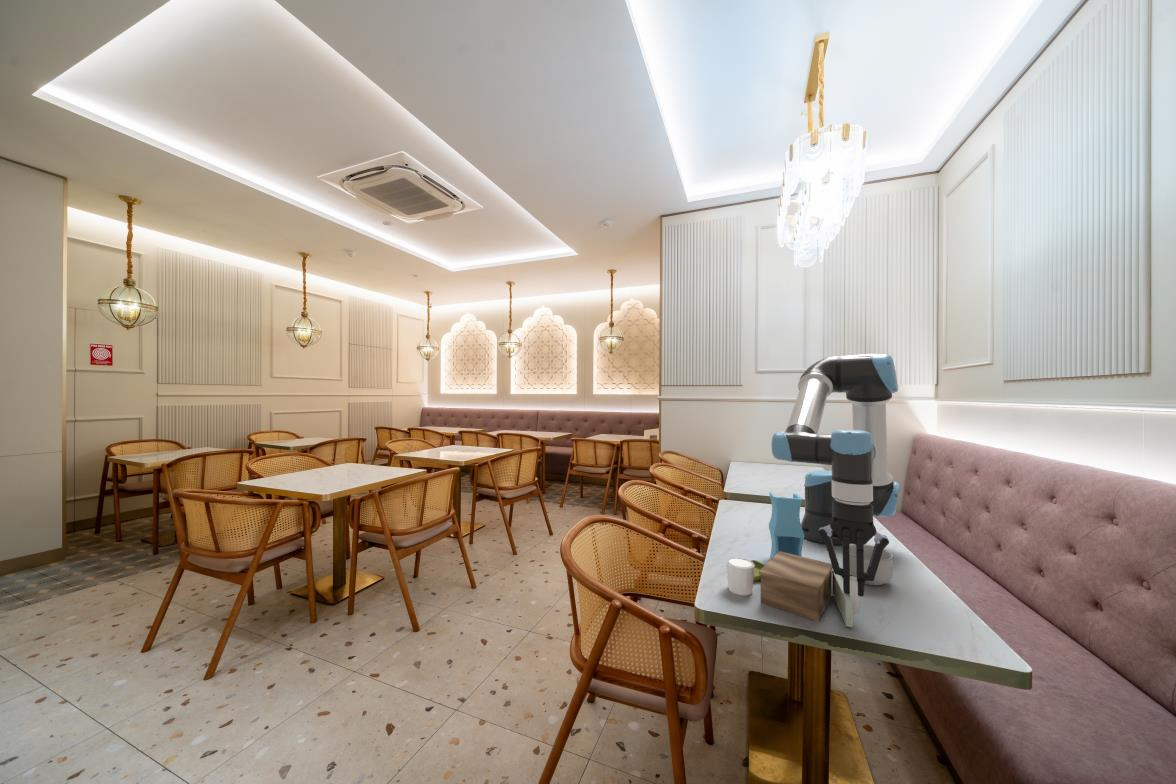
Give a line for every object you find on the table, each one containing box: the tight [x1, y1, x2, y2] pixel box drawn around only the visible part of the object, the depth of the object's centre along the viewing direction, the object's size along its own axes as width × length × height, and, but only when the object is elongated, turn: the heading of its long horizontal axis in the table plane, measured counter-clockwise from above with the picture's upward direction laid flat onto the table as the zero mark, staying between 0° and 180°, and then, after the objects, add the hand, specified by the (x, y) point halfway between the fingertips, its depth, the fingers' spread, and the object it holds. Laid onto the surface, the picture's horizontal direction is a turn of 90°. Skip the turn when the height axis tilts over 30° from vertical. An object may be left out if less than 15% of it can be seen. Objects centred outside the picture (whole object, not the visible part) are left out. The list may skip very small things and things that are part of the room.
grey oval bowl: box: [849, 544, 894, 586], centre depth 108 cm, size 14×11×8 cm
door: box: [832, 570, 854, 628], centre depth 91 cm, size 16×2×6 cm, turn 157°
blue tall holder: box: [768, 491, 805, 560], centre depth 117 cm, size 8×8×20 cm
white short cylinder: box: [725, 557, 755, 597], centre depth 100 cm, size 7×7×7 cm
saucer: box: [750, 559, 766, 582], centre depth 110 cm, size 9×9×2 cm
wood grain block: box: [759, 551, 833, 622], centre depth 96 cm, size 17×13×8 cm
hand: (853, 608), depth 86 cm, fingers closed
